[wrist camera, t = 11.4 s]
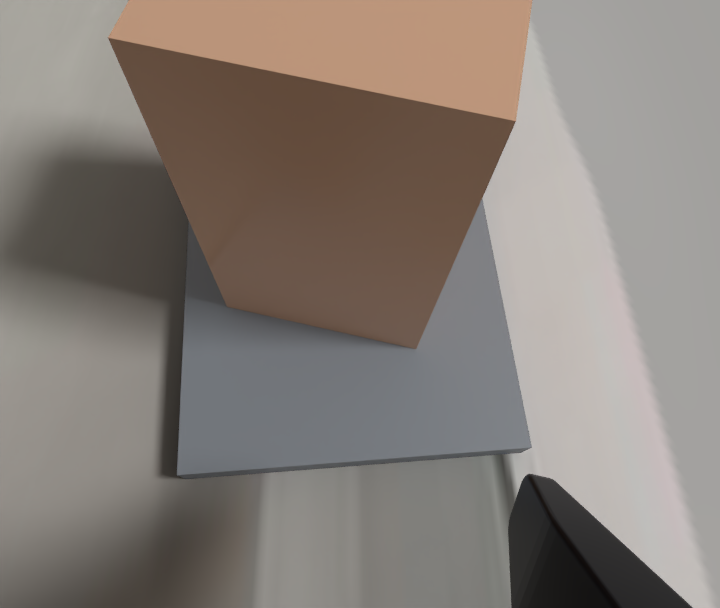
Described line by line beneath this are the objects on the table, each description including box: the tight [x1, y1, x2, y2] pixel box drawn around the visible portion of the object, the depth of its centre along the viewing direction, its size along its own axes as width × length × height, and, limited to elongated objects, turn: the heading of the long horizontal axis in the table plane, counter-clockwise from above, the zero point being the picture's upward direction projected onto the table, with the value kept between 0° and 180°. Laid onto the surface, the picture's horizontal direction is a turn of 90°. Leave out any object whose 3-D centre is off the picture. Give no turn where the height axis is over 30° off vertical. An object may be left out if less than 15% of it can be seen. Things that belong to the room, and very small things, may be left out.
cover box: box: [108, 0, 532, 349], centre depth 14 cm, size 6×6×10 cm
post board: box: [177, 200, 532, 479], centre depth 17 cm, size 14×10×4 cm
